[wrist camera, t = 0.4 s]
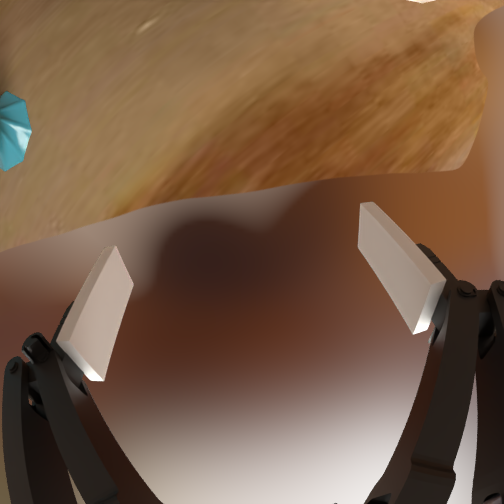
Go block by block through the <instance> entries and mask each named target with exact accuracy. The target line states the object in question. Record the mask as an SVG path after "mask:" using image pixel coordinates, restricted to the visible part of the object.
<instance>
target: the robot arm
mask: <svg viewBox="0 0 504 504" xmlns="http://www.w3.org/2000/svg"><path fill="white" fill-rule="evenodd" d="M358 248H359V250H360V251H361V253H362V254H363V256H364V257H365V258H366V260H367V261H368V263H369V264H370V266H371V267H372V269H373V270H374V272H375V273H376V275H377V276H378V278H379V280H380V281H381V282H382V284H383V286H384V287H385V289H386V290H387V292H388V294H389V295H390V297H391V298H392V300H393V302H394V303H395V305H396V307H397V308H398V310H399V311H400V313H401V315H402V316H403V318H404V320H405V321H406V323H407V325H408V327H409V329H410V330H411V332H412V334H416V333H419V332H422V331H424V330H427V328H428V326H429V324H430V322H431V320H432V322H433V323H434V325H435V328H434V330H433V332H432V335H431V337H430V339H429V341H428V343H430V342H431V343H430V347H429V352H428V356H427V360H426V364H425V367H424V371H423V375H422V378H421V382H420V385H419V388H418V391H417V395H416V397H415V400H414V403H413V406H412V409H411V412H410V415H409V418H408V420H407V423H406V426H405V428H404V430H403V433H402V435H401V438H400V440H399V442H398V445H397V447H396V449H395V451H394V454H393V456H392V458H391V460H390V462H389V464H388V466H387V468H386V470H385V472H384V474H383V476H382V477H381V478H380V480H379V481H378V482H377V483H376V485H375V486H374V488H373V489H372V491H371V492H370V494H369V496H368V498H367V499H366V501H365V503H364V504H447V501H448V499H449V497H450V494H451V492H452V490H453V487H454V484H455V480H456V474H455V472H454V470H453V465H454V461H455V458H456V455H457V452H458V449H459V446H460V442H461V439H462V435H463V431H464V427H465V423H466V419H467V415H468V410H469V405H470V400H471V395H472V389H473V383H474V376H475V374H476V386H477V408H478V409H477V410H478V430H477V450H476V463H475V471H474V479H473V488H472V504H504V281H500V280H496V281H494V282H492V284H491V286H490V289H489V290H477V289H476V288H475V286H474V285H472V284H471V283H469V282H467V281H462V280H459V281H458V280H457V279H456V278H455V277H454V275H453V274H452V273H451V272H450V271H449V270H448V269H447V267H446V266H445V265H444V264H443V263H442V262H441V261H440V260H439V258H438V257H436V255H435V254H434V253H433V252H432V251H431V250H430V249H429V248H427V247H426V246H424V245H422V244H414V242H413V241H412V240H411V239H410V238H409V237H408V236H407V235H406V234H405V233H404V232H403V231H402V230H401V229H400V228H399V227H398V226H397V225H396V224H395V223H394V222H393V221H392V220H391V219H390V218H389V217H388V216H387V215H386V214H385V213H384V212H383V211H382V210H381V209H380V208H379V207H378V206H377V205H376V204H375V203H374V202H366V203H361V204H360V221H359V237H358ZM133 285H134V284H133V282H132V280H131V278H130V276H129V273H128V271H127V269H126V267H125V265H124V263H123V261H122V258H121V256H120V254H119V252H118V249H117V247H116V245H115V246H110V247H106V248H104V249H103V251H102V253H101V254H100V256H99V258H98V259H97V261H96V263H95V265H94V266H93V268H92V270H91V272H90V274H89V275H88V277H87V279H86V281H85V283H84V284H83V286H82V288H81V290H80V292H79V294H78V296H77V298H76V300H75V301H73V302H72V303H71V304H70V306H69V307H68V308H67V309H66V311H65V313H64V315H63V318H62V320H61V321H60V325H58V328H57V330H56V332H55V334H54V336H53V339H52V341H51V343H49V342H48V341H47V340H46V339H45V337H44V336H43V335H42V334H41V333H39V332H37V333H34V334H32V335H30V336H29V337H28V338H27V339H26V340H25V342H24V343H23V346H22V352H23V354H24V355H25V356H26V357H27V358H28V359H29V360H30V362H27V363H25V362H24V361H23V360H22V359H21V357H18V356H17V357H14V358H12V359H11V360H10V361H9V362H8V363H7V366H6V369H5V375H4V385H3V403H2V406H3V407H2V432H3V451H4V462H5V470H6V477H7V483H8V489H9V494H10V500H11V504H77V501H76V498H75V495H74V492H73V488H72V484H71V481H70V477H69V473H70V475H71V477H72V479H73V481H74V483H75V485H76V487H77V489H78V490H79V492H80V494H81V496H82V498H83V500H84V501H85V503H86V504H163V503H162V502H161V501H160V500H159V499H158V498H157V497H156V496H155V494H154V493H153V492H152V491H151V490H150V488H149V487H148V486H147V484H146V483H145V482H144V480H143V479H142V478H141V476H140V475H139V474H138V472H137V471H136V470H135V468H134V467H133V465H132V464H131V462H130V461H129V459H128V458H127V456H126V455H125V453H124V452H123V450H122V449H121V447H120V446H119V444H118V442H117V441H116V440H115V438H114V436H113V434H112V433H111V431H110V429H109V427H108V426H107V424H106V422H105V421H104V419H103V417H102V415H101V413H100V411H99V409H98V408H97V405H96V404H95V402H94V400H93V398H92V396H91V394H90V391H89V390H88V387H87V385H86V383H85V382H84V381H83V380H82V377H83V374H85V375H86V376H87V377H88V378H89V379H90V380H92V381H104V379H105V375H106V371H107V368H108V364H109V360H110V356H111V353H112V350H113V346H114V343H115V339H116V336H117V333H118V330H119V326H120V323H121V320H122V317H123V314H124V311H125V308H126V305H127V302H128V299H129V296H130V294H131V291H132V288H133ZM28 398H29V399H31V400H32V405H30V404H29V400H28ZM68 471H69V473H68ZM335 504H337V503H335Z"/></svg>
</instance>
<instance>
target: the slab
mask: <svg viewBox="0 0 504 504" xmlns="http://www.w3.org/2000/svg"><path fill="white" fill-rule="evenodd" d="M409 1H414V2H419V3H425V2H429V1H434V0H409Z"/></svg>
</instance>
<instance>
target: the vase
mask: <svg viewBox="0 0 504 504" xmlns="http://www.w3.org/2000/svg"><path fill="white" fill-rule="evenodd" d="M31 132H32V130H31V126H30V123H29V118H28V114H27V110H26V103H25V101H24V100H23V99H20V98H18V97H16V96H15V95H13V94H11V93H9V92H8V91H6V92H4V93H3V94H2V95H1V96H0V168H1V169H2V170H3V171H7V170H8V169H10V168H11V167H13V166H15V165H16V164H18V163H20V162H22V161H23V159H24V154H25V151H26V148H27V144H28V141H29V138H30V135H31Z"/></svg>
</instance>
